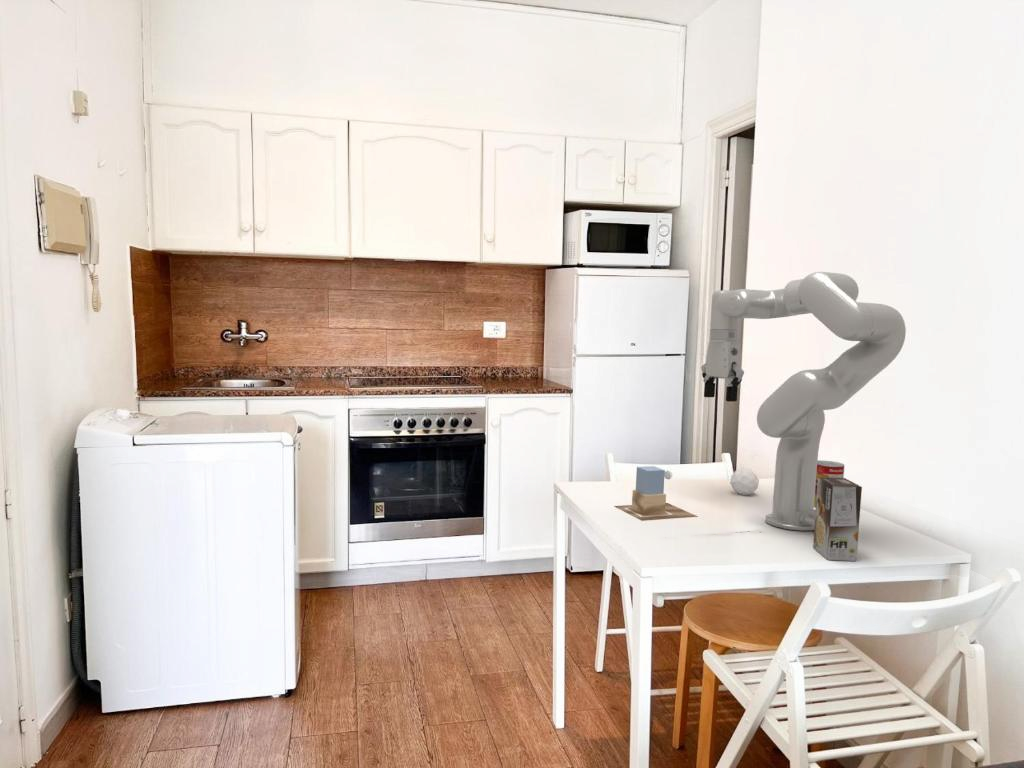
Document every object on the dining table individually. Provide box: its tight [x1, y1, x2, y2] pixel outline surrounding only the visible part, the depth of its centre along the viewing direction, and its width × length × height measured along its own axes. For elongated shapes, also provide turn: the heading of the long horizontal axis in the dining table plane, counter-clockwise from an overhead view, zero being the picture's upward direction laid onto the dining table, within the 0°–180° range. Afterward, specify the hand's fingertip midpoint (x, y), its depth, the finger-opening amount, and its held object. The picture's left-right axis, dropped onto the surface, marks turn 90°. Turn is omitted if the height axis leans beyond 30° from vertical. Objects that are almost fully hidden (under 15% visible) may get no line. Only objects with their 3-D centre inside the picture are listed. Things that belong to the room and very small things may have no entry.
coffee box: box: [812, 477, 863, 562], centre depth 162 cm, size 9×6×16 cm
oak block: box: [631, 489, 667, 515], centre depth 188 cm, size 6×6×5 cm
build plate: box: [613, 502, 699, 522], centre depth 189 cm, size 14×16×1 cm
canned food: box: [814, 459, 845, 508], centre depth 206 cm, size 8×8×12 cm
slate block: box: [635, 465, 666, 495], centre depth 187 cm, size 5×5×6 cm
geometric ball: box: [730, 467, 760, 496], centre depth 217 cm, size 8×8×8 cm
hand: (719, 399), depth 205 cm, fingers open, 9 cm apart
